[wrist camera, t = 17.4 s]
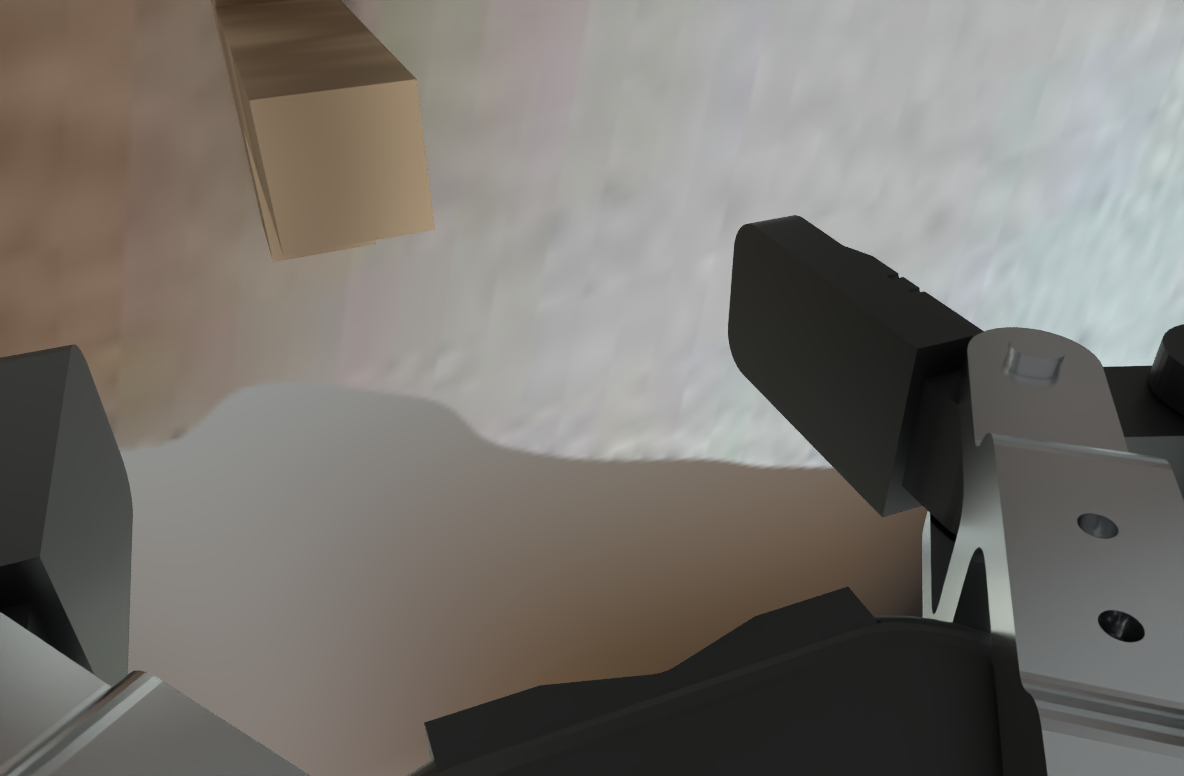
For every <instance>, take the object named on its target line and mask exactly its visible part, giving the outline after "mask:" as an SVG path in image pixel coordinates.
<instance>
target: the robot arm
mask: <svg viewBox="0 0 1184 776" xmlns="http://www.w3.org/2000/svg"><path fill="white" fill-rule="evenodd" d="M728 338H729V345H730V349H731V353H732V356H733V358H734V361H735V363H736V365H737V367H738V368H739V370H740V371H741V372H742V374H743V375H744V376H745V377H746V378H747V379H748V380H749V381H750V382H751V383H752V384H753V385H754V386H755V387H756V388H757V389H758V390H759V391H760V392H761V393H762V394H763V395H764V396H765V397H766V398H767V399H768V400H769V401H770V403H771V404H772V405H773V406H774V407H775V408H776V409H777V410H778V411H779V412H780V413H781V414H782V415H783V416H784V417H785V418H786V419H787V420H788V421H789V422H790V423H791V424H792V425H793V426H794V427H795V428H796V429H797V430H798V431H799V432H800V433H801V434H802V435H803V436H804V437H805V438H806V439H807V441H808V442H809V443H810V444H811V445H812V446H813V447H814V448H815V449H816V450H817V451H818V452H819V453H820V454H821V455H822V456H823V457H824V458H825V459H826V460H827V461H828V462H829V463H830V464H831V465H832V466H833V467H834V468H835V469H836V470H837V471H838V472H839V473H840V474H841V475H842V476H843V477H844V479H845V480H847V482H849V484H850V485H851V486H852V487H853V488H854V489H855V490H856V491H857V492H858V493H859V494H860V495H861V496H862V497H863V498H864V499H865V500H866V501H867V502H868V503H869V504H870V505H871V506H872V507H873V508H874V509H875V510H876V511H877V512H878V513H879V514H880V515H881V516H882V517H886V516H889V515H892V514H896V513H899V512H902V511H905V510H909V509H912V508H915V507H919V506H923V507H925V508H926V509H927V510H928V513H927V517H926V521H925V525H924V529H923V536H922V538H923V539H922V541H923V542H922V548H923V549H922V551H923V618H921V617H912V616H873V615H872V614H871V613H870V612H869V611H868V610H867V609H866V607H865V606H864V605H863V604H862V603H861V601H860V600H859V599H858V598H857V597H856V595H855V594H854V593H853V592H852V591H851V590H850V588H849V587H846V588H842V589H839V590H836V591H833V592H830V593H826V594H823V595H821V596H817V597H814V598H811V599H808V600H805V601H802V602H798V603H795V604H792V605H789V606H786V607H783V608H780V609H777V610H774V611H771V612H768V613H764V614H761V615H758V616H755V617H753V618H752V619H750V620H749V621H747V622H745V623H744V624H742V625H741V626H739V627H737V628H736V629H734V630H733V631H731V632H729V633H728V634H726V635H725V636H723V637H722V638H720V639H718V640H717V641H715V642H714V643H712V644H710V645H709V646H707V647H706V648H704V649H703V650H701V651H699V652H698V653H696V654H695V655H693V656H691V657H690V658H688V659H687V660H685V661H684V662H682V663H680V664H679V665H677V666H675V667H674V668H672V669H670V670H668V671H665V672H662V673H658V674H653V675H643V676H632V677H623V678H612V679H602V680H592V681H582V682H571V683H561V684H551V685H541V686H537V687H534V688H531V689H528V690H525V691H522V692H519V693H515V694H512V695H509V696H506V697H503V698H500V699H497V700H494V701H490V702H487V703H484V704H481V705H478V706H475V707H472V708H469V709H466V710H463V711H459V712H457V713H453V714H450V715H447V716H444V717H441V718H438V719H434V720H431V721H428V722H425V723H424V724H425V730H426V736H427V741H428V747H429V752H430V758H431V761H430V762H428V763H426V764H425V765H423V766H422V767H420V768H418V769H417V770H415V771H414V772H412V773H410V774H409V775H408V776H1184V324H1183V325H1179V326H1176V327H1174V328H1172V329H1170V330H1168V331H1167V332H1166V333H1165V334H1164V336H1163V339H1162V341H1161V344H1160V347H1159V349H1158V352H1157V355H1156V357H1155V360H1154V363H1153V366H1124V367H1103V366H1102V364H1101V362H1100V361H1099V360H1098V358H1097V357H1096V356H1095V355H1094V354H1093V353H1092V352H1090V351H1089V350H1088V349H1086V348H1085V347H1083V346H1082V345H1080V344H1078V343H1076V342H1074V341H1072V340H1070V339H1067V338H1065V337H1062V336H1060V335H1056V334H1053V333H1050V332H1045V331H1041V330H1036V329H1029V328H1018V327H1006V328H996V329H992V330H987V331H985V332H984V331H982V330H981V329H979V328H978V327H977V326H975V325H974V324H972V323H971V322H969V321H968V320H966V319H965V318H963V317H962V316H960V315H959V314H957V313H956V312H954V311H953V310H951V309H950V308H948V307H947V306H945V305H944V304H943V303H941V302H940V301H938V300H937V299H935V298H934V297H932V296H931V295H929V294H928V293H926V292H920V291H919V287H917V286H916V285H914V284H913V283H911V282H910V281H909V280H907V279H906V278H904V277H902V278H899V276H898V273H897V272H895V271H894V270H892V269H891V268H889V267H888V266H886V265H885V264H883V263H882V262H880V261H879V260H877V259H876V258H874V257H873V256H871V255H868V254H865V253H862V252H859V251H857V250H854V249H851V248H848V247H845V246H843V245H841V244H840V243H838V242H837V241H835V240H834V239H833V238H831V237H830V236H828V235H827V234H825V233H824V232H822V231H821V230H820V229H818V228H817V227H815V226H814V225H812V224H811V223H809V222H808V221H806V220H805V219H804V218H802V217H800V216H796V215H794V216H788V217H783V218H777V219H772V220H766V221H761V222H755V223H749V224H745V225H743V226H742V227H741V228H740V229H739V231H738V233H737V235H736V239H735V244H734V256H733V269H732V282H731V295H730V309H729V322H728ZM132 519H133V509H132V499H131V492H130V487H129V482H128V478H127V473H126V469H125V466H124V463H123V460H122V457H121V454H120V451H119V449H118V446H117V443H116V440H115V438H114V435H113V432H112V430H111V427H110V424H109V422H108V419H107V416H106V413H105V411H104V408H103V405H102V403H101V400H100V397H99V394H98V392H97V389H96V386H95V384H94V381H93V378H92V375H91V373H90V370H89V367H88V365H87V362H86V360H85V358H84V356H83V354H82V352H81V350H80V349H79V348H78V347H77V346H76V345H69V346H63V347H58V348H52V349H47V350H41V351H35V352H30V353H24V354H19V355H13V356H8V357H2V358H0V776H310V775H309V774H307V773H306V772H304V771H302V770H301V769H299V768H298V767H296V766H295V765H293V764H292V763H290V762H289V761H287V760H285V759H284V758H282V757H281V756H279V755H278V754H276V753H274V752H273V751H271V750H270V749H268V748H267V747H265V746H264V745H262V744H261V743H259V742H257V741H256V740H254V739H253V738H251V737H250V736H248V735H246V734H245V733H243V732H242V731H240V730H239V729H237V728H236V727H234V726H232V725H231V724H229V723H228V722H226V721H225V720H223V719H222V718H220V717H219V716H217V715H215V714H214V713H212V712H211V711H209V710H207V709H206V708H205V707H203V706H201V705H200V704H198V703H197V702H195V701H193V700H192V699H190V698H189V697H187V696H186V695H184V694H183V693H181V692H179V691H178V690H176V689H175V688H173V687H172V686H170V685H169V684H167V683H166V682H164V681H162V680H161V679H159V678H157V677H155V676H154V675H151V674H149V673H147V672H143V671H133V672H131V673H130V674H127V673H128V645H129V644H128V643H129V612H130V582H131V551H132Z"/></svg>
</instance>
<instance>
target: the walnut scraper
mask: <svg viewBox="0 0 1184 776" xmlns="http://www.w3.org/2000/svg"><path fill="white" fill-rule="evenodd" d="M211 2H212V6H213V11H214V15H215V19H216V24H217V28H218V32H219V37H220V41H221V45H222V50H223V54H224V58H225V63H226V67H227V72H228V76H229V80H230V85H231V89H232V93H233V98H234V102H235V106H236V111H237V115H238V120H239V124H240V128H241V133H242V137H243V141H244V146H245V150H246V154H247V159H248V163H249V167H250V172H251V176H252V181H253V185H254V189H255V194H256V198H257V202H258V207H259V211H260V215H261V220H262V224H263V228H264V231H265V235H266V238H267V242H268V245H269V249H270V252H271V255H272V259H273V262H276V261H282V260H287V259H293V258H298V257H304V256H310V255H315V254H321V253H327V252H332V251H338V250H343V249H349V248H355V247H360V246H366V245H372V244H376V241H375V240H378V239H384V238H389V237H395V236H401V235H406V234H412V233H418V232H423V231H429V230H435V226H434V218H433V210H432V202H431V194H430V185H429V177H428V169H427V161H426V153H425V145H424V136H423V128H422V120H421V112H420V104H419V96H418V87H417V79H416V78H415V77H414V76H413V75H412V74H411V73H410V72H409V71H408V70H407V69H406V68H405V67H404V66H403V65H402V64H401V63H400V62H399V61H398V60H397V59H396V58H395V56H394V55H393V54H392V53H391V52H390V51H389V50H388V49H387V48H386V47H385V46H384V45H383V44H382V43H381V42H380V41H379V40H378V39H377V38H376V37H375V36H374V35H373V34H372V33H371V32H370V31H369V30H368V29H367V28H366V27H365V25H364V24H363V23H362V22H361V21H360V20H359V19H358V18H357V17H356V16H355V15H354V14H353V13H352V12H351V11H350V10H349V9H348V8H347V7H346V6H345V5H344V4H343V3H342V2H341V1H340V0H211Z"/></svg>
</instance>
